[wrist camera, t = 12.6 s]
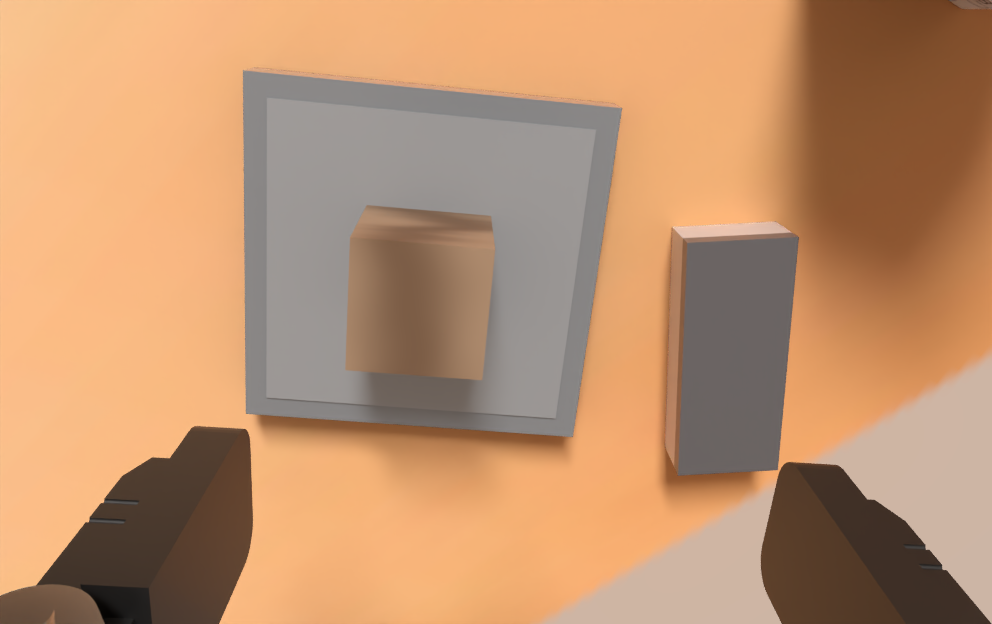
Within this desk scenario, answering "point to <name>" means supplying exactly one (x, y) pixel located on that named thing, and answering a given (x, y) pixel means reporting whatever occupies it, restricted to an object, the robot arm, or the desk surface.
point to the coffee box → (973, 4)
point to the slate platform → (424, 186)
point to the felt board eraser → (728, 345)
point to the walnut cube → (419, 292)
